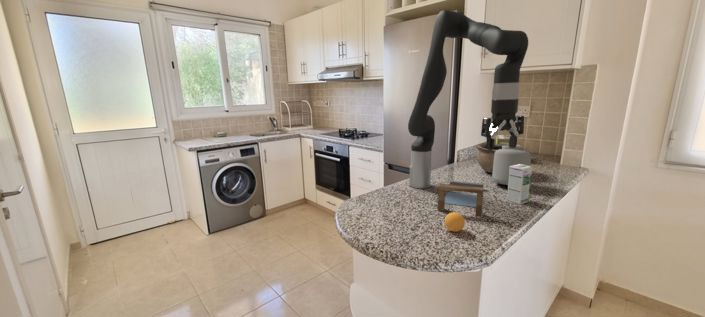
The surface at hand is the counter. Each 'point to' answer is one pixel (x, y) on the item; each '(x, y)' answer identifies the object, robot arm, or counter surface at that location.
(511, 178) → the syrup box
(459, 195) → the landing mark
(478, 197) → the bridge
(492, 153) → the ceramic bowl
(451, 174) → the counter surface
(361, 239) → the counter surface
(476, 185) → the stopper
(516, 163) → the jar
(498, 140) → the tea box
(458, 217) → the ball
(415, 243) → the counter surface
